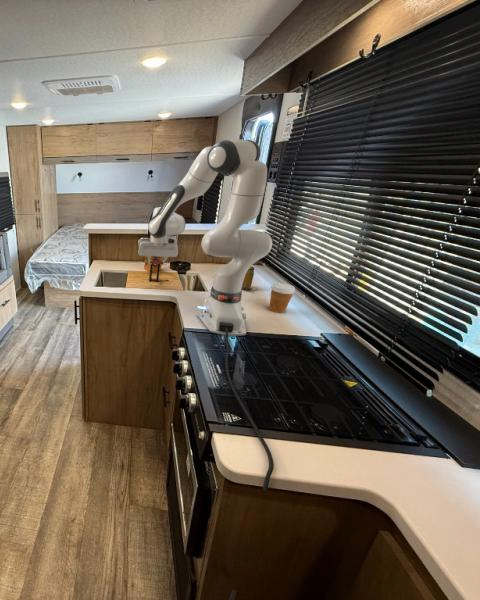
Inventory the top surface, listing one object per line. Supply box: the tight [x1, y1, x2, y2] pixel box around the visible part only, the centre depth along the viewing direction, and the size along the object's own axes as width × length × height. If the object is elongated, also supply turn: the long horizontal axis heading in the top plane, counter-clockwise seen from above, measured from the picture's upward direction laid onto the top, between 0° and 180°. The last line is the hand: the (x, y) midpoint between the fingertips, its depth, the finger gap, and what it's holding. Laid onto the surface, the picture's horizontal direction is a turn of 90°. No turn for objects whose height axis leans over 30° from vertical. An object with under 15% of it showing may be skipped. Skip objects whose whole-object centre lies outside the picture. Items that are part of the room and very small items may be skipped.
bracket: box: [148, 259, 160, 283], centre depth 175 cm, size 11×9×14 cm
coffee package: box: [144, 256, 163, 274], centre depth 191 cm, size 10×12×22 cm
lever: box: [152, 260, 163, 265], centre depth 168 cm, size 13×5×2 cm, turn 170°
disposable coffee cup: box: [268, 282, 296, 314], centre depth 141 cm, size 10×10×12 cm
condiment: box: [241, 266, 257, 292], centre depth 166 cm, size 7×8×12 cm
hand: (156, 264), depth 162 cm, fingers closed on lever, 5 cm apart
